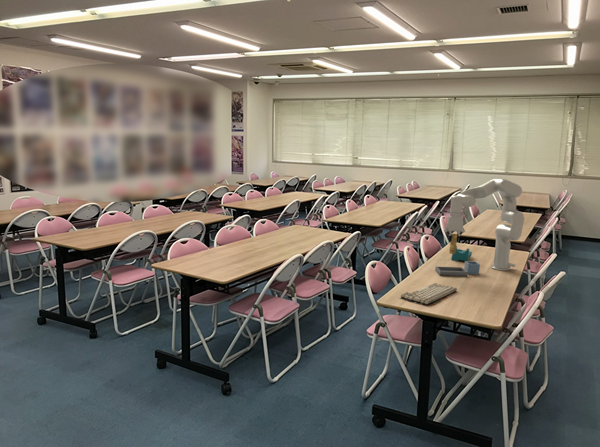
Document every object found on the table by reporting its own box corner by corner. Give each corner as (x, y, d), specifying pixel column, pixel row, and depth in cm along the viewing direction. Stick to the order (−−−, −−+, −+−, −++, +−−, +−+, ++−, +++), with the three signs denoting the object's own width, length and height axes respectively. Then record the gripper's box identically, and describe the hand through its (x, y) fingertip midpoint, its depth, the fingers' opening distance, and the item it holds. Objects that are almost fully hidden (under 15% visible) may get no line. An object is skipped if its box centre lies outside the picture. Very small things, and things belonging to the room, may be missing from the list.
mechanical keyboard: (430, 285, 290) (430, 280, 289) (459, 293, 277) (460, 287, 277) (398, 300, 262) (398, 294, 262) (429, 309, 250) (430, 303, 249)
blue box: (475, 271, 323) (476, 261, 321) (478, 274, 315) (479, 264, 314) (464, 271, 323) (464, 261, 322) (467, 274, 315) (468, 264, 314)
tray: (461, 271, 321) (461, 267, 321) (467, 276, 309) (467, 272, 309) (435, 270, 322) (435, 266, 321) (439, 275, 310) (440, 271, 309)
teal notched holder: (466, 263, 347) (468, 249, 345) (451, 259, 352) (453, 246, 350) (470, 258, 362) (473, 245, 360) (456, 254, 367) (459, 242, 365)
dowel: (454, 252, 315) (456, 233, 313) (456, 254, 311) (458, 234, 309) (448, 252, 315) (450, 233, 313) (450, 253, 311) (451, 234, 309)
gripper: (466, 213, 312) (464, 240, 315) (441, 213, 312) (439, 239, 315) (470, 215, 304) (467, 243, 308) (444, 214, 305) (442, 242, 308)
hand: (453, 241), depth 311 cm, fingers closed on dowel, 4 cm apart
